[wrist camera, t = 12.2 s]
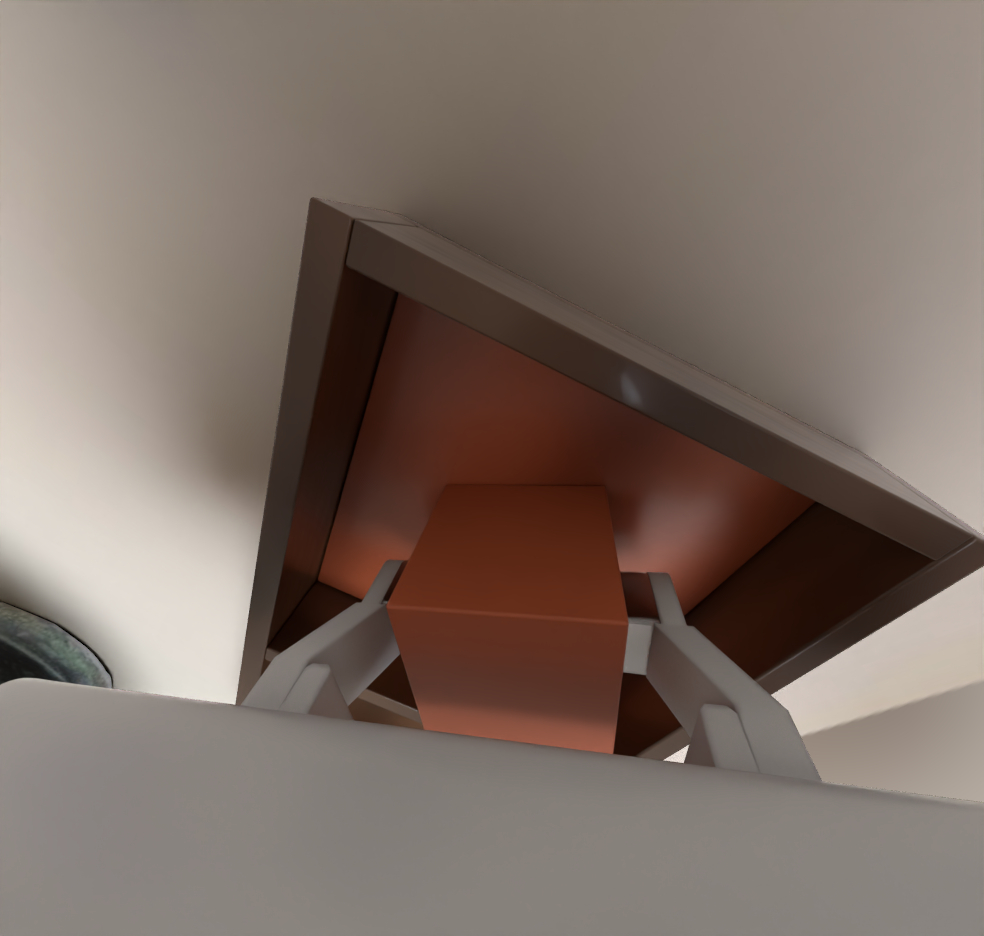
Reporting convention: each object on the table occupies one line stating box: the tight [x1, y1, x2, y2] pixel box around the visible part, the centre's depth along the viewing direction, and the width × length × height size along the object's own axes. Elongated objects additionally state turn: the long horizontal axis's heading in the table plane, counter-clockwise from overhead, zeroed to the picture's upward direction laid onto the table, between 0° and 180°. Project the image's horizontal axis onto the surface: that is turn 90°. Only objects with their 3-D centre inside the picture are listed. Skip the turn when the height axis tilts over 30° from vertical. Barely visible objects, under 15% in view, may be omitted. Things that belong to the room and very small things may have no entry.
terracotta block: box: [386, 485, 629, 754], centre depth 10 cm, size 4×4×4 cm
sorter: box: [236, 197, 984, 760], centre depth 14 cm, size 13×25×4 cm, turn 156°
